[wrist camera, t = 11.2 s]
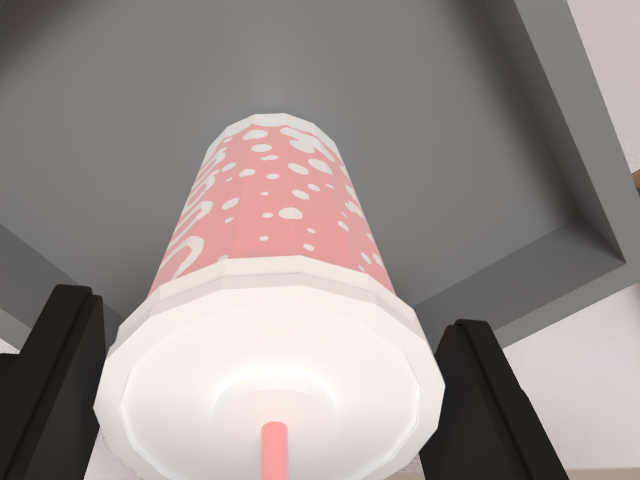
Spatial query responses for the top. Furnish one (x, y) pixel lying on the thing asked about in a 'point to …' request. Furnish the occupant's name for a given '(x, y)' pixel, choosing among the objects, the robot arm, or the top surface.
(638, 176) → the square wooden frame block
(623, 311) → the top surface
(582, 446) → the top surface
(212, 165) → the beverage cup
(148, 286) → the tray
